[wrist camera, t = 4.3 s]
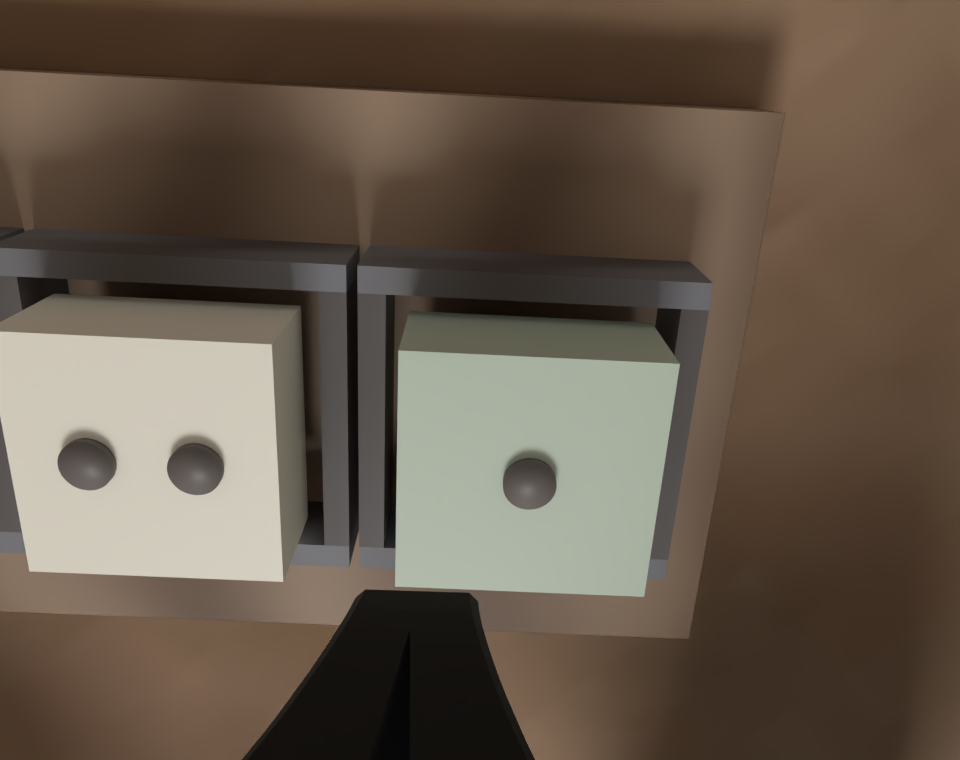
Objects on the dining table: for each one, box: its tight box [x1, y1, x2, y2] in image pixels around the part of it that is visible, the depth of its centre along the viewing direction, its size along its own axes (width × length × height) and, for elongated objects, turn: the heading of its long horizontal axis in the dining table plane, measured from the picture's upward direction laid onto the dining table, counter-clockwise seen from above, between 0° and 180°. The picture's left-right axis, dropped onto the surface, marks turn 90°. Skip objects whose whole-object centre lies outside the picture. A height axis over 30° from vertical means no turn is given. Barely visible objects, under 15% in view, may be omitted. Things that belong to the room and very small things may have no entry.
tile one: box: [395, 311, 680, 597], centre depth 14 cm, size 4×4×2 cm
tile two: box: [0, 294, 308, 582], centre depth 14 cm, size 4×4×2 cm
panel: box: [0, 68, 785, 639], centre depth 16 cm, size 22×12×3 cm, turn 87°
